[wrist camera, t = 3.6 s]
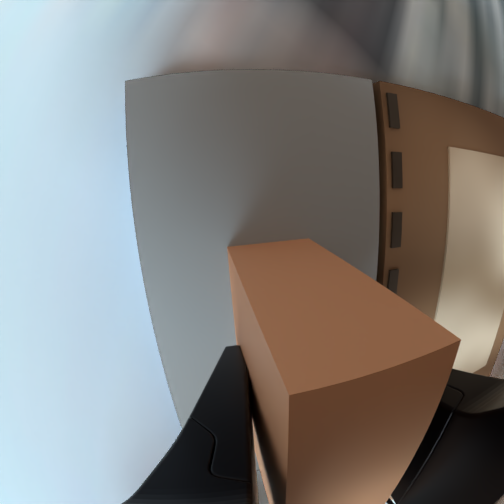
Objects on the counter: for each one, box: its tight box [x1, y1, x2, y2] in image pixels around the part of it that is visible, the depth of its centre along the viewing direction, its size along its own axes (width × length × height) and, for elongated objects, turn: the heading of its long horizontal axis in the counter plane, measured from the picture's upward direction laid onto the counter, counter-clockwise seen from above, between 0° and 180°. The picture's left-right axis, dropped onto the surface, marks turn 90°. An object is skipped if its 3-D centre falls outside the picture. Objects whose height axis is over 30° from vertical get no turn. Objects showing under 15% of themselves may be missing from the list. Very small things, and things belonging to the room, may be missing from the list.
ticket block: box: [372, 81, 504, 377], centre depth 12 cm, size 16×11×2 cm
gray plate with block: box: [125, 69, 461, 504], centre depth 7 cm, size 16×7×8 cm, turn 4°
